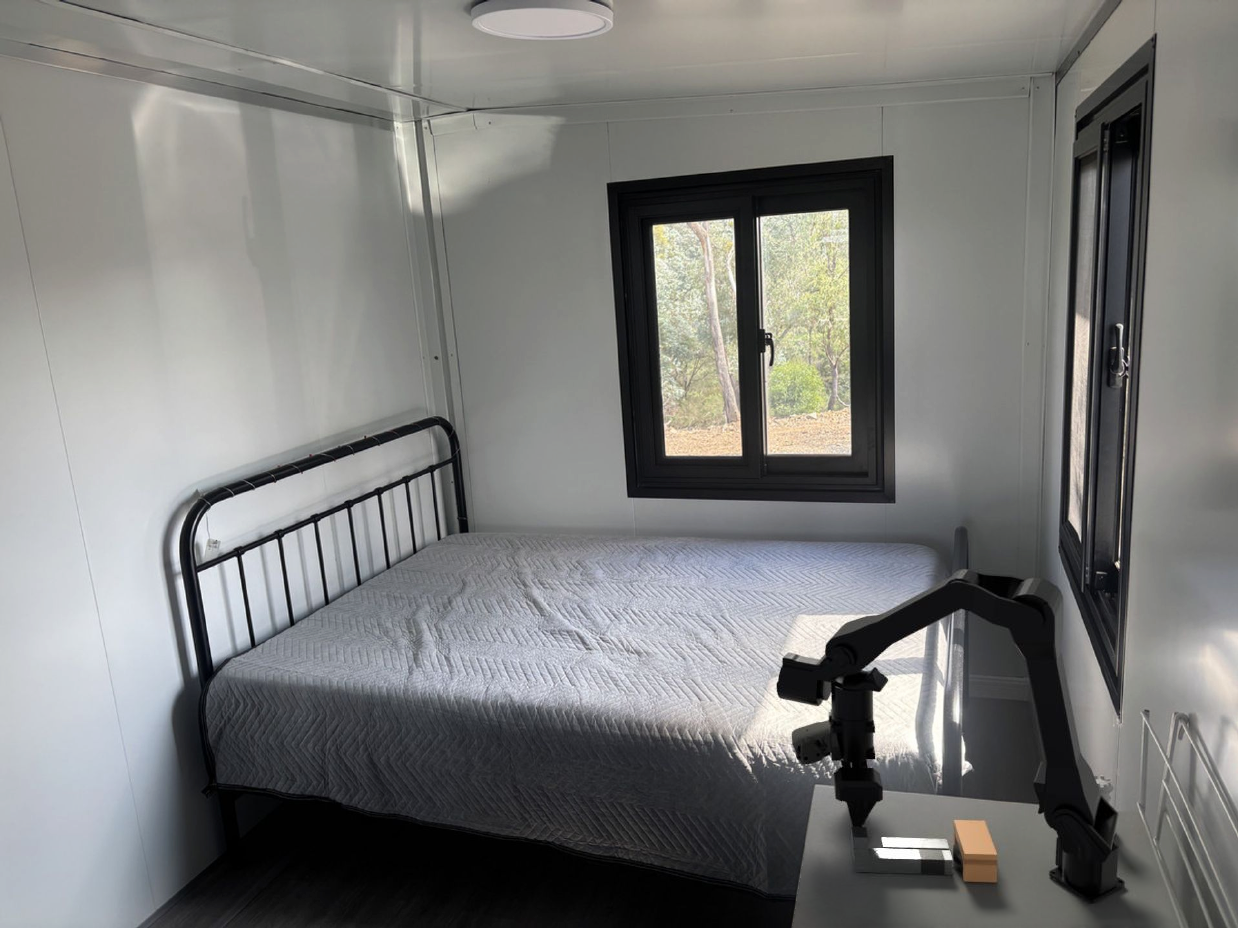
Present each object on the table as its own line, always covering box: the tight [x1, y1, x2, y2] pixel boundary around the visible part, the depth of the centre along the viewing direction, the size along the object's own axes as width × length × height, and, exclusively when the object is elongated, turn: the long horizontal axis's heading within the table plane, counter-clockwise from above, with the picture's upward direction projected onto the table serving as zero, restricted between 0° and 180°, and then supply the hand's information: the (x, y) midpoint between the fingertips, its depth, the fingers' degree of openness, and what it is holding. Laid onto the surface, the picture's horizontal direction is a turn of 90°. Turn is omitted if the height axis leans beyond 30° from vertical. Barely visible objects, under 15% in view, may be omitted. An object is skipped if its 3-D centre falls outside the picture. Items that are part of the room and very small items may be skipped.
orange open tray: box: [952, 819, 998, 883], centre depth 126 cm, size 4×7×4 cm, turn 172°
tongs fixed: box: [881, 837, 963, 875], centre depth 128 cm, size 13×4×2 cm, turn 82°
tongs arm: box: [850, 825, 954, 876], centre depth 128 cm, size 12×4×4 cm, turn 82°
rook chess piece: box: [1094, 774, 1117, 836], centre depth 131 cm, size 4×4×8 cm
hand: (853, 808), depth 138 cm, fingers open, 9 cm apart
